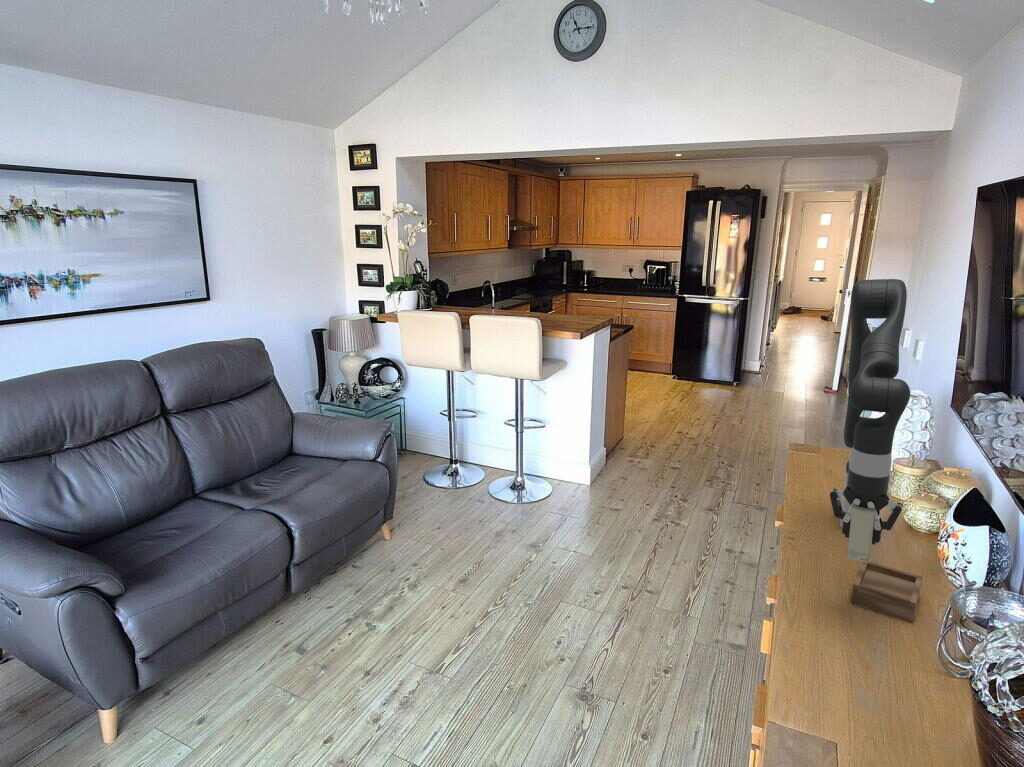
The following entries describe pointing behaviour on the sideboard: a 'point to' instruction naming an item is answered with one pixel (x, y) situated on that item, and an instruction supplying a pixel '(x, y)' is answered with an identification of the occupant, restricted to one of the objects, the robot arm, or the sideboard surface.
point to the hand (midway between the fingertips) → (860, 539)
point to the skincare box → (861, 534)
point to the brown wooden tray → (887, 591)
